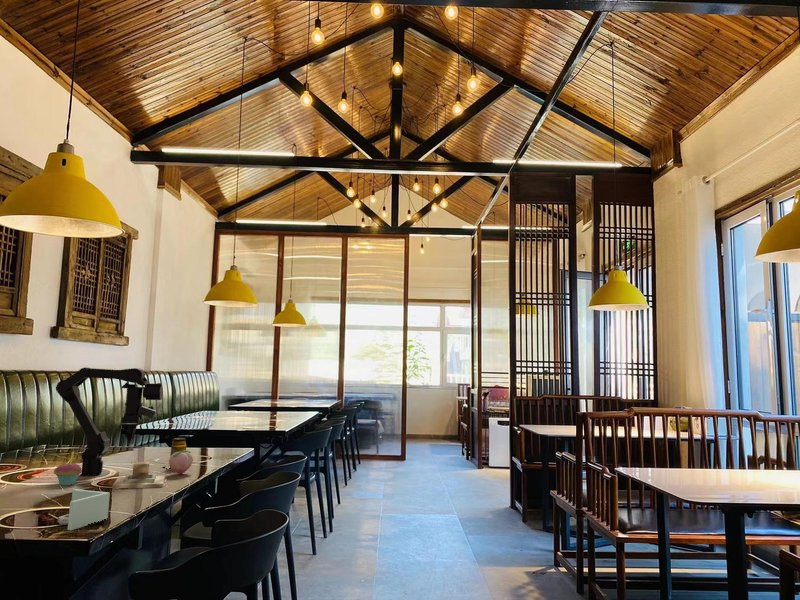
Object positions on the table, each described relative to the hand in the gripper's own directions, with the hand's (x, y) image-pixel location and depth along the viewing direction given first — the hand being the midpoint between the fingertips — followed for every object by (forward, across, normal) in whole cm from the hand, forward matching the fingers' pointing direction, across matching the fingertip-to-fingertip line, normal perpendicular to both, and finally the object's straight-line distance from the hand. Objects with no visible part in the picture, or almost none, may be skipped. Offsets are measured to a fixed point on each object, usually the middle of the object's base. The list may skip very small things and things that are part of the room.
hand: (130, 440), depth 221 cm
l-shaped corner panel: (+14, -72, +7) cm, 73 cm away
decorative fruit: (+13, -5, -19) cm, 24 cm away
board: (+13, -21, -6) cm, 25 cm away
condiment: (+13, +12, -17) cm, 25 cm away
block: (+12, -21, -6) cm, 25 cm away
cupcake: (+13, -16, +18) cm, 28 cm away
